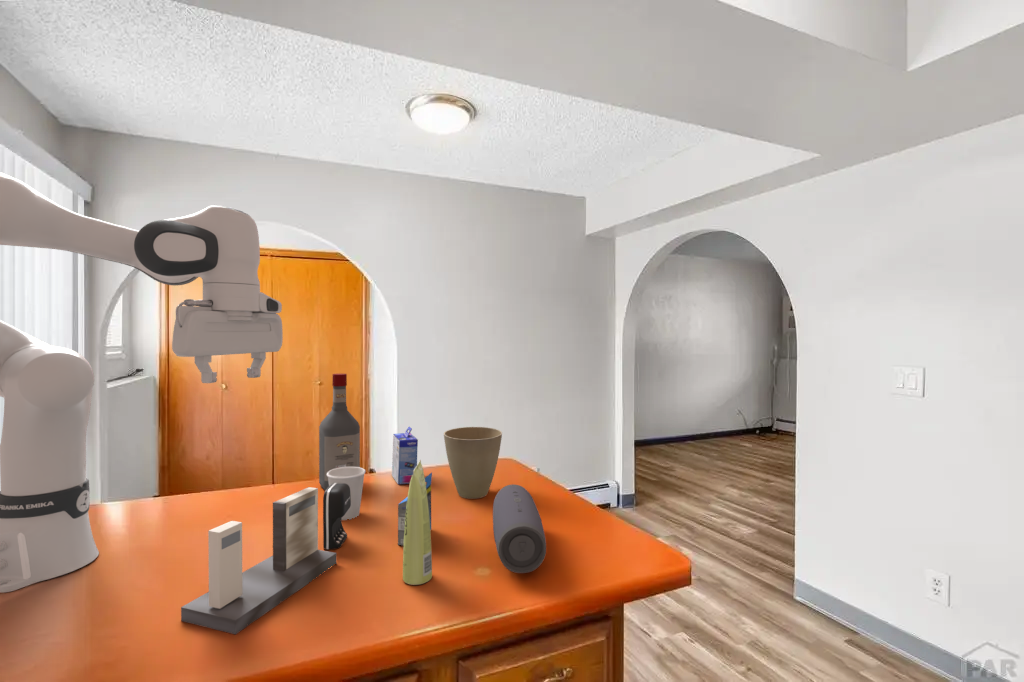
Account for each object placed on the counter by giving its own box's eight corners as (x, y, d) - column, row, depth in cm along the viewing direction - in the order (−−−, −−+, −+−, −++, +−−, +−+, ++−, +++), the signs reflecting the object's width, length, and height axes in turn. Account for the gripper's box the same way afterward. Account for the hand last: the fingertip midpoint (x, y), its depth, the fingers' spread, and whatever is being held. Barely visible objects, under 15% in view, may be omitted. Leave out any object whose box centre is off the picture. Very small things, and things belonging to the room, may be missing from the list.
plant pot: (444, 485, 136) (444, 427, 135) (499, 484, 137) (499, 426, 137) (442, 505, 121) (442, 439, 121) (504, 503, 123) (504, 438, 122)
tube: (394, 576, 86) (395, 463, 86) (420, 567, 90) (420, 458, 89) (412, 589, 82) (413, 470, 82) (438, 579, 86) (439, 465, 85)
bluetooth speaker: (549, 580, 86) (550, 522, 86) (495, 581, 85) (495, 523, 85) (534, 527, 109) (535, 481, 108) (491, 528, 108) (491, 481, 108)
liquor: (362, 487, 134) (362, 374, 133) (326, 493, 128) (326, 376, 128) (351, 478, 141) (351, 372, 140) (317, 484, 136) (317, 373, 135)
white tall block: (219, 608, 72) (219, 532, 72) (208, 606, 73) (208, 530, 72) (242, 594, 76) (242, 522, 76) (231, 592, 77) (231, 520, 76)
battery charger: (342, 551, 96) (342, 491, 96) (322, 551, 96) (322, 491, 96) (352, 535, 103) (352, 480, 103) (333, 536, 103) (333, 480, 102)
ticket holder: (235, 634, 70) (234, 539, 70) (181, 620, 73) (180, 529, 73) (336, 563, 91) (336, 490, 90) (291, 555, 94) (290, 484, 94)
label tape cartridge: (414, 528, 107) (415, 470, 107) (432, 529, 107) (432, 471, 106) (397, 545, 99) (397, 483, 98) (415, 547, 98) (416, 484, 98)
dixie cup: (370, 517, 113) (370, 473, 113) (332, 525, 108) (332, 479, 108) (358, 506, 120) (358, 464, 120) (322, 513, 115) (322, 469, 115)
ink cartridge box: (418, 483, 138) (418, 430, 137) (398, 485, 136) (398, 432, 135) (410, 473, 147) (410, 424, 146) (391, 475, 145) (391, 425, 144)
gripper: (191, 298, 78) (192, 387, 78) (288, 304, 97) (288, 375, 98) (161, 298, 80) (162, 385, 80) (262, 304, 99) (262, 374, 100)
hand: (232, 380), depth 89 cm, fingers open, 8 cm apart
